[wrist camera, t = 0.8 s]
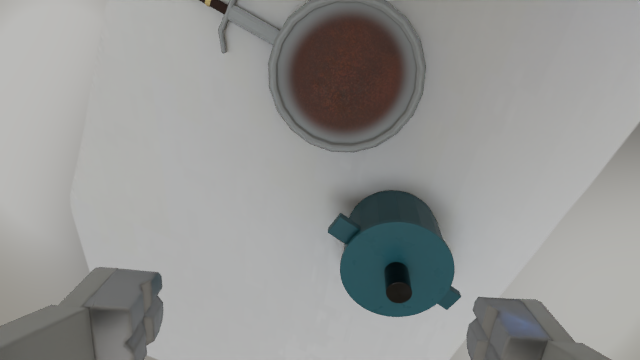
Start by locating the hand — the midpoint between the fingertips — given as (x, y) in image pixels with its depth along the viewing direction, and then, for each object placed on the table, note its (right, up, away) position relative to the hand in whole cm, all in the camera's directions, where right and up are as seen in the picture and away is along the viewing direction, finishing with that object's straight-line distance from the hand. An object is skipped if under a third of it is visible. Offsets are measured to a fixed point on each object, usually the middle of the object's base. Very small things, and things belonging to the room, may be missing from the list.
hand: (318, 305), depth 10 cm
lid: (+8, -6, +33) cm, 35 cm away
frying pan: (-2, +18, +34) cm, 39 cm away
